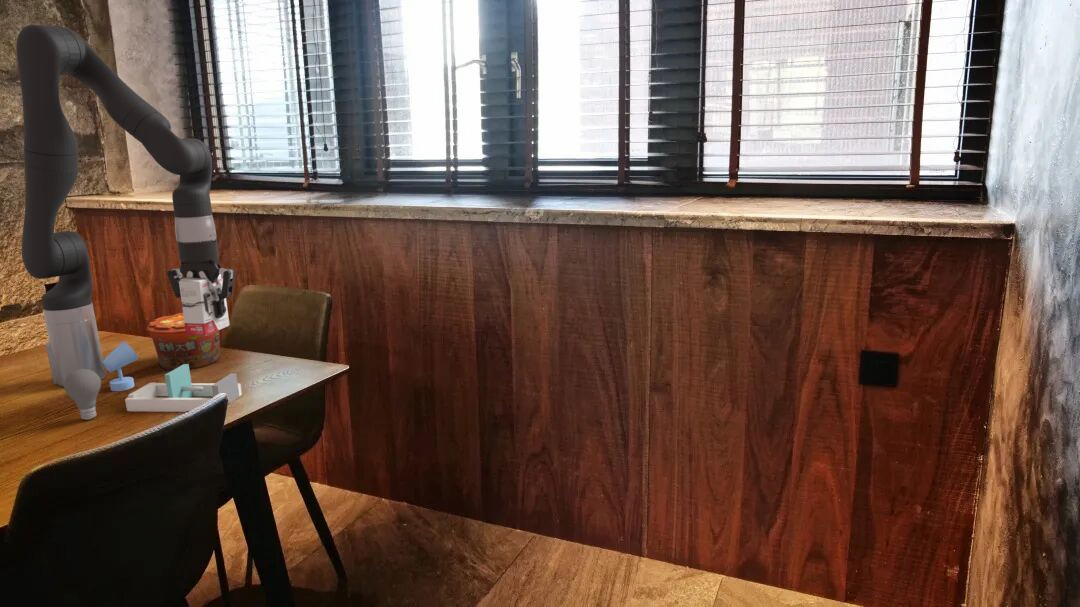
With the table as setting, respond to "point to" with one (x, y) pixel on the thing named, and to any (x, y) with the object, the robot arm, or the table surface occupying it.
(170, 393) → the pusher
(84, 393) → the light bulb
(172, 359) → the food container
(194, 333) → the ink box
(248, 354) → the table surface
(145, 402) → the light grey piece
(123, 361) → the spotlight
